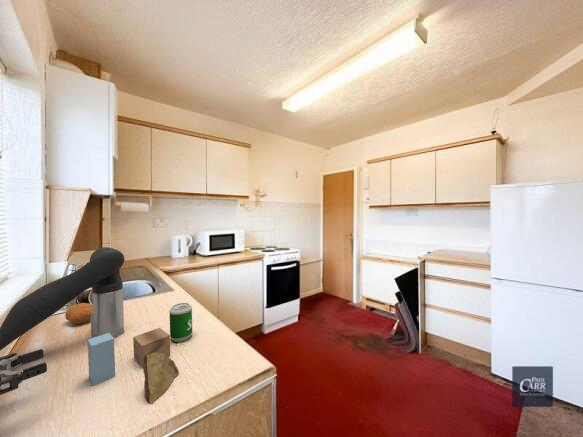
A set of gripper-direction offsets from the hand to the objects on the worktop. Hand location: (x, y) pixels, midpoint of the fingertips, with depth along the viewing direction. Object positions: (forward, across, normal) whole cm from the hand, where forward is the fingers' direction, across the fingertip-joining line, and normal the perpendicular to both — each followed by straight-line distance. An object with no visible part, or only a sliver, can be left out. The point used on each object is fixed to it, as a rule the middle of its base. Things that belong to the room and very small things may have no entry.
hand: (44, 359), depth 59 cm
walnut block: (+24, 0, -11) cm, 26 cm away
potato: (+14, -50, -11) cm, 53 cm away
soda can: (+36, -4, -11) cm, 37 cm away
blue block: (+11, -1, -11) cm, 15 cm away
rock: (+21, +17, -11) cm, 29 cm away
